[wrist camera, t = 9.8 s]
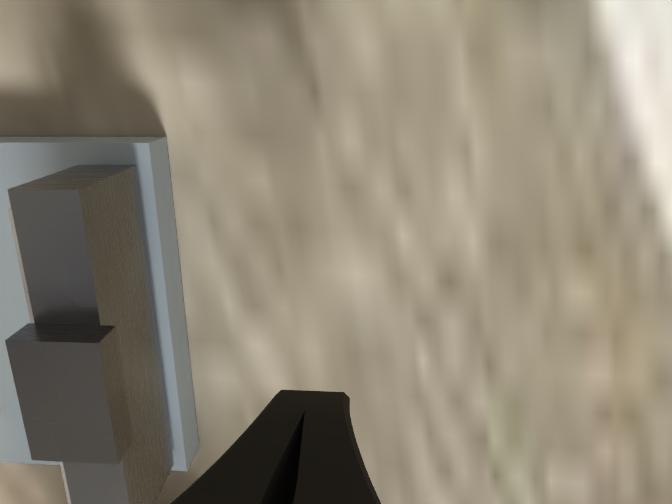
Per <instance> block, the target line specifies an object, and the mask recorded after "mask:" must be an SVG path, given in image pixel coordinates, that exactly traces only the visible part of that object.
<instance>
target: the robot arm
mask: <svg viewBox="0 0 672 504" xmlns="http://www.w3.org/2000/svg"><path fill="white" fill-rule="evenodd" d="M171 504H381V502H380V500H379V498H378V496H377V494H376V491H375V489H374V487H373V485H372V483H371V480H370V478H369V475H368V473H367V470H366V468H365V465H364V462H363V460H362V457H361V454H360V451H359V448H358V445H357V442H356V439H355V435H354V431H353V427H352V423H351V418H350V398H349V397H348V396H347V395H346V394H345V393H344V392H324V391H298V390H281V391H280V392H279V393H277V394H276V395H275V397H274V398H273V399H272V400H271V401H270V403H269V404H268V405H267V406H266V407H265V409H264V410H263V411H262V412H261V413H260V415H259V416H258V417H257V418H256V419H255V420H254V422H253V423H252V424H251V425H250V426H249V427H248V428H247V430H246V431H245V432H244V433H243V434H242V435H241V436H240V437H239V438H238V439H237V440H236V441H235V443H234V444H233V445H232V446H231V447H230V448H229V449H228V450H227V451H226V452H225V453H224V454H223V455H222V456H221V457H220V458H219V459H218V460H217V461H216V462H215V463H214V464H213V465H212V466H211V467H210V468H209V469H208V470H207V471H206V472H205V473H204V474H203V475H202V476H201V477H200V478H199V479H198V480H196V481H195V482H194V483H193V484H192V485H191V486H190V487H189V488H188V489H187V490H186V491H185V492H183V493H182V494H181V495H180V496H179V497H178V498H177V499H175V500H174V501H173V502H172V503H171Z"/></svg>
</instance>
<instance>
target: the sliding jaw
mask: <svg viewBox="0 0 672 504" xmlns="http://www.w3.org/2000/svg"><path fill="white" fill-rule="evenodd" d="M7 190H8V195H9V200H10V205H11V208H10V209H8V214H9V219H10V224H11V229H12V234H13V239H14V243H15V248H16V253H17V258H18V263H19V268H20V273H21V277H22V282H23V287H24V292H25V297H26V302H27V307H28V312H29V316H30V321H31V323H28V324H26V325H25V326H24V327H22V328H21V329H20V330H18V331H17V332H16V333H14V334H13V335H12V336H10V337H9V338H8V339H6V340H5V343H6V347H7V352H8V356H9V361H10V365H11V370H12V374H13V379H14V383H15V388H16V392H17V396H18V401H19V405H20V410H21V414H22V419H23V423H24V428H25V432H26V436H27V441H28V445H29V450H30V454H31V459H32V460H36V461H57V462H60V467H61V472H62V477H63V482H64V487H65V492H66V497H67V501H68V504H154V502H155V500H156V498H157V496H158V494H159V492H160V490H161V488H162V486H163V484H164V482H165V481H166V479H167V477H168V475H169V473H170V471H171V469H172V467H173V465H174V461H173V453H172V445H171V437H170V429H169V421H168V413H167V405H166V397H165V389H164V381H163V373H162V365H161V357H160V349H159V341H158V333H157V325H156V317H155V309H154V301H153V293H152V285H151V277H150V269H149V261H148V253H147V245H146V237H145V229H144V221H143V213H142V205H141V197H140V189H139V181H138V173H137V165H76V166H73V167H70V168H67V169H64V170H62V171H59V172H56V173H53V174H50V175H47V176H44V177H41V178H38V179H36V180H33V181H30V182H27V183H24V184H21V185H18V186H15V187H12V188H10V189H7Z"/></svg>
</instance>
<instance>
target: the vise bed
mask: <svg viewBox="0 0 672 504" xmlns="http://www.w3.org/2000/svg"><path fill="white" fill-rule="evenodd" d="M76 165H137V173H138V181H139V189H140V197H141V205H142V213H143V221H144V229H145V237H146V245H147V253H148V261H149V269H150V277H151V285H152V293H153V301H154V309H155V317H156V325H157V333H158V341H159V349H160V357H161V365H162V373H163V381H164V389H165V397H166V405H167V413H168V421H169V429H170V437H171V445H172V453H173V461H174V465H173V467H172V469H171V471H187V470H188V468H189V466H190V464H191V462H192V460H193V457H194V455H195V453H196V451H197V449H198V447H199V441H198V432H197V422H196V413H195V404H194V394H193V385H192V375H191V366H190V356H189V347H188V337H187V328H186V319H185V309H184V300H183V290H182V281H181V271H180V262H179V252H178V243H177V233H176V224H175V215H174V205H173V196H172V186H171V177H170V167H169V158H168V148H167V139H166V137H43V136H0V409H1V413H0V462H4V463H25V464H45V465H60V462H57V461H36V460H32V459H31V454H30V450H29V445H28V441H27V436H26V432H25V428H24V423H23V419H22V414H21V410H20V405H19V401H18V396H17V392H16V388H15V383H14V379H13V374H12V370H11V365H10V361H9V356H8V352H7V347H6V343H5V340H6V339H8V338H9V337H10V336H12V335H13V334H14V333H16V332H17V331H18V330H20V329H21V328H22V327H24V326H25V325H26V324H28V323H31V321H30V316H29V312H28V307H27V302H26V297H25V292H24V287H23V282H22V277H21V273H20V268H19V263H18V258H17V253H16V248H15V243H14V239H13V234H12V229H11V224H10V219H9V214H8V209H10V208H11V205H10V200H9V195H8V190H7V189H10V188H12V187H15V186H18V185H21V184H24V183H27V182H30V181H33V180H36V179H38V178H41V177H44V176H47V175H50V174H53V173H56V172H59V171H62V170H64V169H67V168H70V167H73V166H76Z"/></svg>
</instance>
